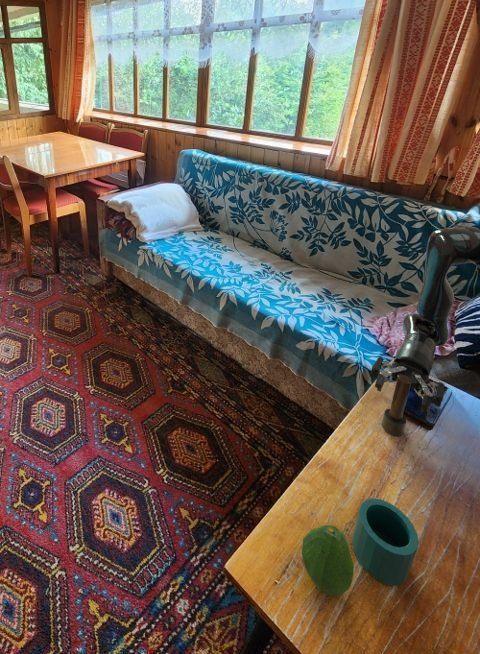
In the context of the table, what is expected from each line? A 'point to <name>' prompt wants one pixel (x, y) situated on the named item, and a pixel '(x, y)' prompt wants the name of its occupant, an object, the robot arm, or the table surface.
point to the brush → (397, 408)
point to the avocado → (328, 560)
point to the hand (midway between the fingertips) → (400, 398)
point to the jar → (384, 541)
